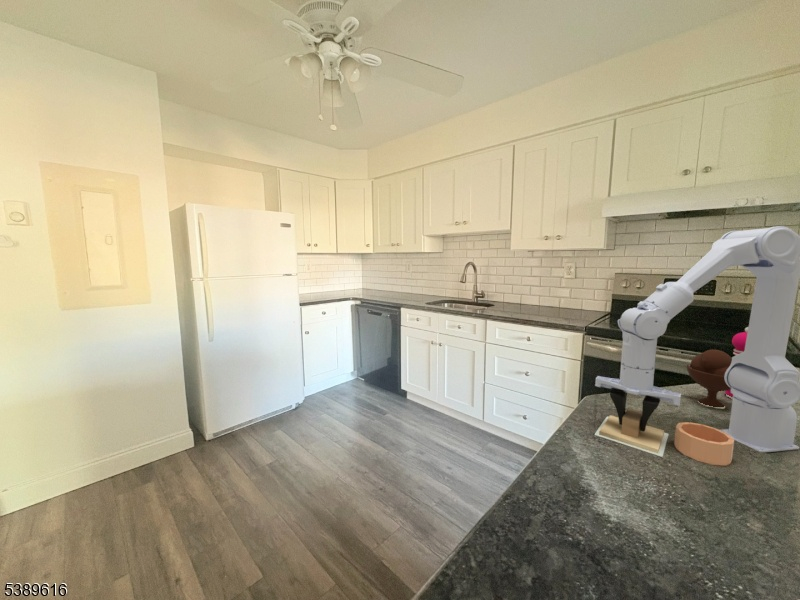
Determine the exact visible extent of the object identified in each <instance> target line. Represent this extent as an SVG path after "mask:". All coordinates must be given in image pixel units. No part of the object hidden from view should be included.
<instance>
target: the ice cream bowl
mask: <svg viewBox="0 0 800 600" xmlns="http://www.w3.org/2000/svg"><path fill="white" fill-rule="evenodd" d="M731 362H732V357H731V355H729V354H728V353H726V352H725V351H722V350H720V349H708V350H705V351H703V352H701V353H699V354H697V355H695V356H694V357H693V358H692V359H691V361H690V363H689V364H686V371H687V372H688V375H689V376H690V377H691V378H692V380H693V381H694V382H695V383H696V384H697V385H698V386H700V387H702V388H704V389H706V391H707V396H706V397H702V398H698V399H697V400H698V401H699V402H700V403H703V404H705V405H709V406H713V407H724V406H726V405H725V404H724V403H723V402H722V401H720V400H719V399H717V396H718V393H719V392H725V391H726V390H730V389H731V388H730V387H729V386H728V385H727V384H726V382H725V379H724V376H725V372H726V370H727V369H728V368H729V366H730V365H731Z"/></svg>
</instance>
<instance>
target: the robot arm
mask: <svg viewBox="0 0 800 600" xmlns="http://www.w3.org/2000/svg"><path fill="white" fill-rule="evenodd" d="M737 266H739V267H742V268H744V269H746V270H748V272H749V273H751V274H752V275H754V276H755V277H756V280H755V284H754V292H753V298H752V305H751V310H750V314H749V315H750V316H749V322H748V323H749V324H748V326H747V327H748V333H747V339H746V345H745V351H744V352H742V353H740V354H738V355H736V356H735V355H734V356H732V357H731V358H732V362H731V365H730V366H729V368H728V369H727V370H726V372H725V376H724V379H725V382H726V384H727V385H728V386H729V387H730V388H731V392H730V393H732V394H733V400H732V399H731V400H732V402H731V409H730V417H729V418H730V419H729V426H728V428H723V429H719V430H720V431H723V432H725V433H727V434H729V435H730V436H731V437H732V438H733V439H734V442H738V443H740V444H742V445H744V446H746V447H749V448H750V449H753V450H755V451H757V452H758V453H759V452H760V453H772V452H781V451H783V452H784V451H792V450H794V451H795V450H799V449H800V446H799V445H796V444H795V443H794V442H795V435H796V427H797V423H798V415H797V413H796V411H795V409H794V408H793V407H792V406H793V405H795V404H796V403H797V402H798V401H799V400H800V371H799V370H798V369H797V367H795V366H794V365H793V364H792V363H791V362H790V361H789V360H788V359H787V358H786V352H787V348H788V344H789V343H788V342H789V336H790V331H791V326H792V325H791V324H792V321H793V314H794V310H795V304H796V300H797V299H796V298H797V293H798V289H799V288H798V287H799V282H800V235H799V234H798V233H796V231H794V230H793V229H791V228H790V227H787V226H784V225H777V226H772V227H767V228H766V227H765V228H757V229H756V228H755V229H744V230H737V229H736V230H731V231H729V232H726V233H724V234H723V235H722V236H721V237H720V238H719V239H717V240H716V241H714V242H713V243H712V245H711V249H710V250H709V251H708V252H707V253H706V254H705V255H704V256H703V257H702V258H701V259H699V260H698V261H697V262H696V263H695V264H694V265H693V266H692V267H691V268H690V269H689V270H688V271H686V273H684V275H682V276H681V277H680V278H679V279H678V280H677V281H666V282H665V283H660V284H658V285H657V286H656V287H655V289H656V290H655V291H654V292H653V293H651V294H650V295H649V296H648V297H646V299H644V300H642V301H639V302H638V303H637V307H632V308H628V309H626V310H625V311H624V312H622V314H621V315H620V318H619V319H618V320H617V326H618V328H619V329H620V330H621V332H622V334H621V335H622V336H621V337H622V346H621V359H620V372H619V378H615V377H614V378H611V377H606V376H600V375H597V376H596V377H595V381H594V382H595V384H594V386H595V387H598V388H606V389H610V392H609V396H610V398H611V401H612V402H613V405H614V407H615V410H616V413H617V417H618V418H619V424H620V425H622V418H623V416H624V414H625V413H626V405H627V397H628V394H631V395H635V396H641V397H644V398H643V400H642V406H641V407H642V411H641V412H642V420H641V425H640V431H645V429H646V425H647V424H648V422H649V419H650V417H651V416H652V415H653V413H654V412H655V411H656V409H657V408H658V407H659V404H660V403H661V401H662V402H666V403H671V404H672V405H674V406H679V407H680V404H681V399H682V393H679V392H675V391H672V390H668V389H665V388H661V387H658V386H656V385H654V379H655V370H656V369H655V366H656V355H657V344H658V338H660V336H663V335H664V334H665V333H666V331H667V327H668V324H669V323H670V322H671V320H672V319H673V318H674V317H676V315H677V316H678V314H679V313H681V312H682V311H683V310H685V308H687V307H688V306H689V305H691V303H693V302H694V293H695V292H696V291H698V290H699V289H700V288H702V287H703V286H705V285H706V284H708V283H709V282H710V281H712V280H714V279H715V278H716V277H717V276H719V275H721V274H722V273H723V272H725V271H726V270H728V269H729V268H731V267H737Z"/></svg>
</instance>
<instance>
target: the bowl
mask: <svg viewBox="0 0 800 600" xmlns="http://www.w3.org/2000/svg"><path fill="white" fill-rule="evenodd" d="M720 430H721V429H719V428H716V427H712V426H708V425H706V424H702V423H696V422H688V421H685V422H678V423H677V424H676V425H675V431H674V433H675V434H674V440H673V441H674V442H673V445H674V447H675V449H676V450H677V451H678V452H680V453H681V454H683V455H684V456H686V457H688V458H690V459H693V460H695V461H697V462H701V463H703V464H707V465H713V466H721V467H722V466H728V465H731V463H732V461H733V455H734V454H733V453H734V446H735V440H734V439H733V438H732V437H731V436H730V435H729V434H727V433H725V432H723V431H720Z"/></svg>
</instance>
